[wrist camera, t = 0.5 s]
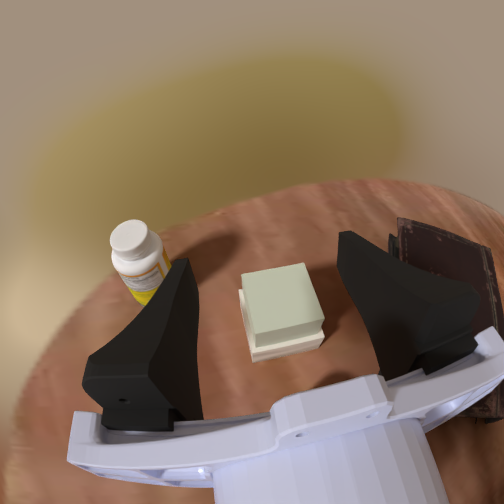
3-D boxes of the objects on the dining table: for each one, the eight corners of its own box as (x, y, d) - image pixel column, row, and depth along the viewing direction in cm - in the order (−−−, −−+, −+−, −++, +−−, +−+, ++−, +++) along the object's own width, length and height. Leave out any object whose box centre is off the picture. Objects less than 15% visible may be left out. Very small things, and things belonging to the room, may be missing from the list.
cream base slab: (317, 349, 28) (324, 337, 26) (252, 363, 28) (252, 353, 25) (299, 294, 33) (303, 277, 30) (240, 305, 32) (238, 289, 29)
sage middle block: (317, 333, 26) (324, 318, 23) (255, 348, 25) (255, 333, 23) (299, 282, 30) (303, 262, 27) (242, 293, 29) (241, 274, 26)
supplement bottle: (150, 266, 35) (124, 208, 27) (187, 280, 34) (167, 219, 26) (128, 301, 32) (91, 247, 24) (165, 318, 31) (134, 265, 23)
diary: (478, 267, 35) (494, 248, 31) (485, 424, 20) (512, 416, 16) (381, 237, 38) (393, 212, 34) (359, 415, 24) (379, 408, 20)
